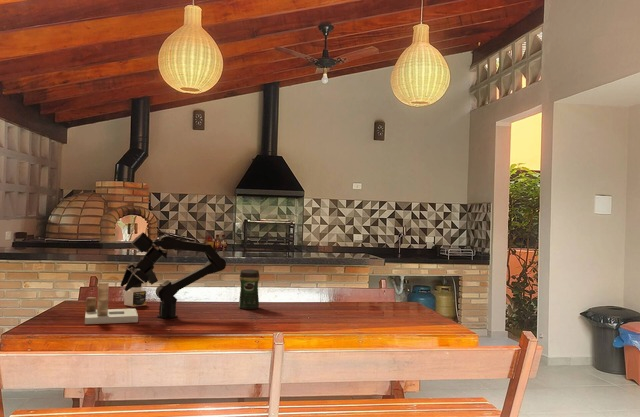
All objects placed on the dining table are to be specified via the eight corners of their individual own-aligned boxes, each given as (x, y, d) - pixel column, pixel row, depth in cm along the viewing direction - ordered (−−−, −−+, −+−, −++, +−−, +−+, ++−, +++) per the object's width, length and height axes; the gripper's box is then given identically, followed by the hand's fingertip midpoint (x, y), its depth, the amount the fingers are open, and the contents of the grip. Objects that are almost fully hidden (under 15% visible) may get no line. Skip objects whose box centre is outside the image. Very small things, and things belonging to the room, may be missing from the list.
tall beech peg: (109, 314, 228) (110, 283, 228) (101, 316, 225) (102, 284, 225) (103, 313, 230) (104, 282, 230) (95, 315, 227) (96, 283, 227)
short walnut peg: (98, 310, 236) (98, 297, 236) (90, 312, 232) (90, 299, 232) (91, 309, 238) (92, 296, 238) (83, 311, 234) (84, 298, 234)
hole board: (135, 314, 244) (135, 308, 244) (137, 322, 228) (138, 316, 228) (85, 315, 237) (85, 310, 237) (84, 324, 221) (85, 317, 221)
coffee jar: (258, 306, 274) (260, 268, 274) (258, 309, 266) (259, 270, 266) (238, 306, 273) (240, 268, 273) (238, 309, 265) (239, 270, 265)
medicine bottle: (132, 306, 261) (133, 281, 261) (123, 304, 266) (124, 279, 266) (145, 305, 267) (146, 280, 267) (136, 303, 271) (137, 278, 271)
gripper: (169, 275, 232) (142, 305, 227) (158, 268, 248) (133, 295, 244) (149, 258, 227) (121, 288, 223) (139, 251, 244) (113, 279, 239)
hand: (123, 288), depth 232 cm, fingers open, 9 cm apart
